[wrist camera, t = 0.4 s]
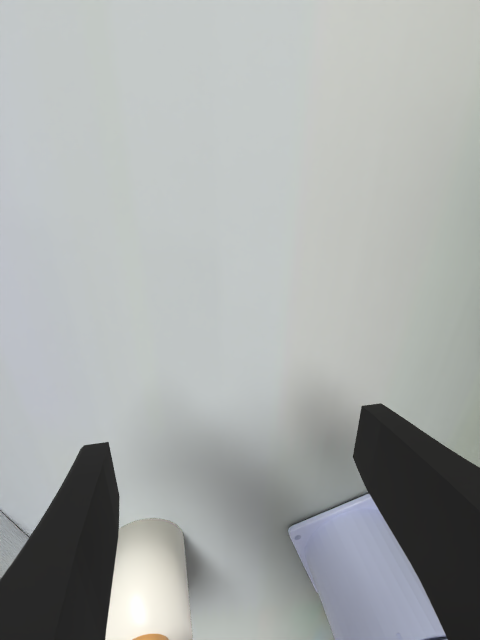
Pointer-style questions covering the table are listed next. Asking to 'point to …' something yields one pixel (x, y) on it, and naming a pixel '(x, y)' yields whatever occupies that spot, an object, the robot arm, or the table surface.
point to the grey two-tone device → (9, 542)
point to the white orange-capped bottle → (150, 584)
